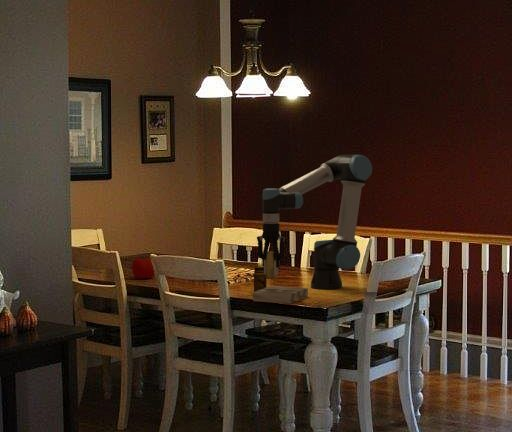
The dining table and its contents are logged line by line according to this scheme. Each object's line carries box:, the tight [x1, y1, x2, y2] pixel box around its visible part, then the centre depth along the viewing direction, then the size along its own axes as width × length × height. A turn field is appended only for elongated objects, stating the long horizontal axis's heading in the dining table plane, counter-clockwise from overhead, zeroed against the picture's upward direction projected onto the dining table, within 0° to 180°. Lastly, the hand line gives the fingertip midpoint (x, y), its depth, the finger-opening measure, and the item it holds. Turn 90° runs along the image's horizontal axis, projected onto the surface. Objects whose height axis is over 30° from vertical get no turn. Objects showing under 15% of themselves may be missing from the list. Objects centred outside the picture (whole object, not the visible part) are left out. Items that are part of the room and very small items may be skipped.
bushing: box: [266, 251, 277, 280], centre depth 448 cm, size 4×4×12 cm
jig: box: [252, 285, 309, 305], centre depth 448 cm, size 20×18×4 cm
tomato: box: [131, 256, 155, 280], centre depth 519 cm, size 12×13×12 cm
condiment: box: [250, 266, 268, 292], centre depth 468 cm, size 7×8×12 cm
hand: (271, 274), depth 449 cm, fingers closed on bushing, 4 cm apart
